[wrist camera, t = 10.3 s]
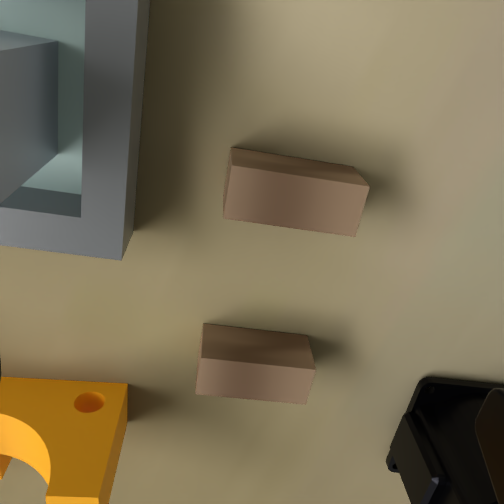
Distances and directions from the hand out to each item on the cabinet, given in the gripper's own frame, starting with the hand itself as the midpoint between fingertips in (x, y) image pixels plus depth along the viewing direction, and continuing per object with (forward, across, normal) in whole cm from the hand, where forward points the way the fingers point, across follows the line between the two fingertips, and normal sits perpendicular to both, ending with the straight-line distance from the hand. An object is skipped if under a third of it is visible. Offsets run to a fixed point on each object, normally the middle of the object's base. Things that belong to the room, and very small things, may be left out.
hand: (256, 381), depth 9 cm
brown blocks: (+12, -2, +4) cm, 13 cm away
